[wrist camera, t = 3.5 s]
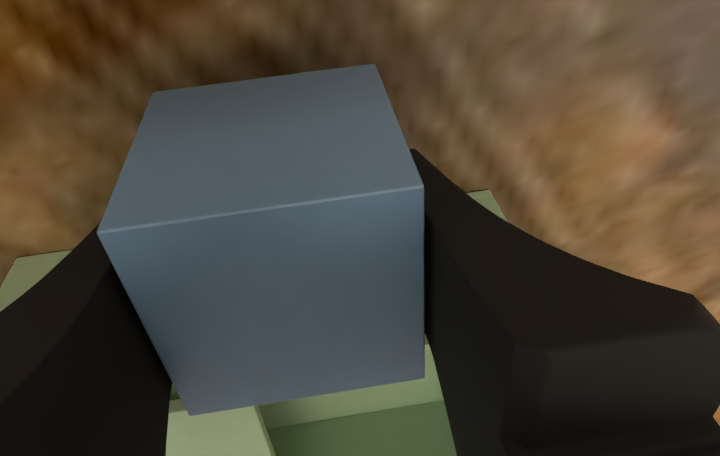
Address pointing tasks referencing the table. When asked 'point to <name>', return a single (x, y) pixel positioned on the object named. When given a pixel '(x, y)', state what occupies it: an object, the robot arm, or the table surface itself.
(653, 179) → the table surface
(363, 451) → the green open box
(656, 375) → the robot arm
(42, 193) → the table surface
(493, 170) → the table surface
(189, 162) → the cube
